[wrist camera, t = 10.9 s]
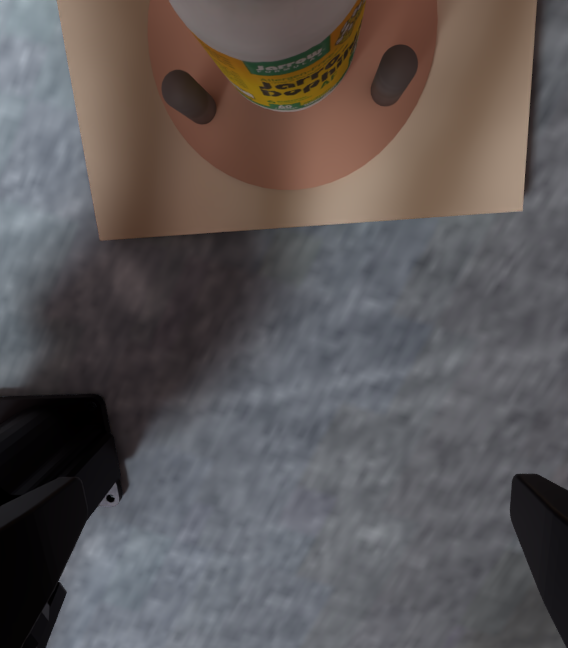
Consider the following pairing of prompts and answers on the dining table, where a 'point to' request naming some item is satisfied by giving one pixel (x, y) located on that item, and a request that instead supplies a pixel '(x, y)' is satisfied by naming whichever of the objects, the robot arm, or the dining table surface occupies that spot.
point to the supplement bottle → (277, 45)
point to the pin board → (302, 122)
